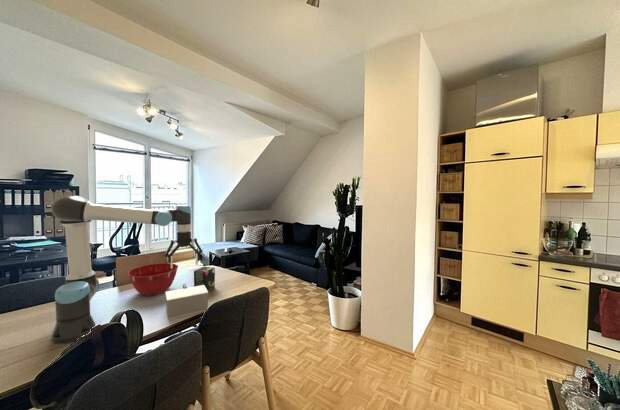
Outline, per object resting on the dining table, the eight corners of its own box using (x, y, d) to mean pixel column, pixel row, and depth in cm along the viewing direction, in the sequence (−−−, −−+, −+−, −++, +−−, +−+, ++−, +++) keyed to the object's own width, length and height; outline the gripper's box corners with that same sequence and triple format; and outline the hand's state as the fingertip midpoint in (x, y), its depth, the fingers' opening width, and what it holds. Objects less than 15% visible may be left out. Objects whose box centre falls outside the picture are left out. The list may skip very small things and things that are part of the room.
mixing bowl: (116, 297, 158) (116, 273, 157) (154, 281, 186) (154, 261, 185) (154, 303, 152) (153, 278, 151) (187, 286, 179) (187, 264, 178)
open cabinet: (167, 319, 134) (167, 301, 133) (166, 310, 144) (166, 292, 143) (207, 310, 145) (207, 293, 144) (203, 302, 155) (203, 286, 154)
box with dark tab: (167, 310, 133) (166, 299, 133) (164, 297, 149) (164, 287, 148) (208, 301, 144) (208, 291, 144) (202, 290, 160) (202, 280, 160)
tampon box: (206, 294, 166) (205, 272, 166) (193, 292, 168) (193, 271, 167) (215, 287, 177) (215, 267, 176) (203, 286, 179) (203, 266, 178)
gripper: (160, 233, 141) (160, 271, 142) (207, 230, 154) (207, 264, 156) (159, 231, 147) (160, 267, 148) (204, 228, 161) (205, 261, 162)
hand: (184, 266), depth 152 cm, fingers open, 13 cm apart
